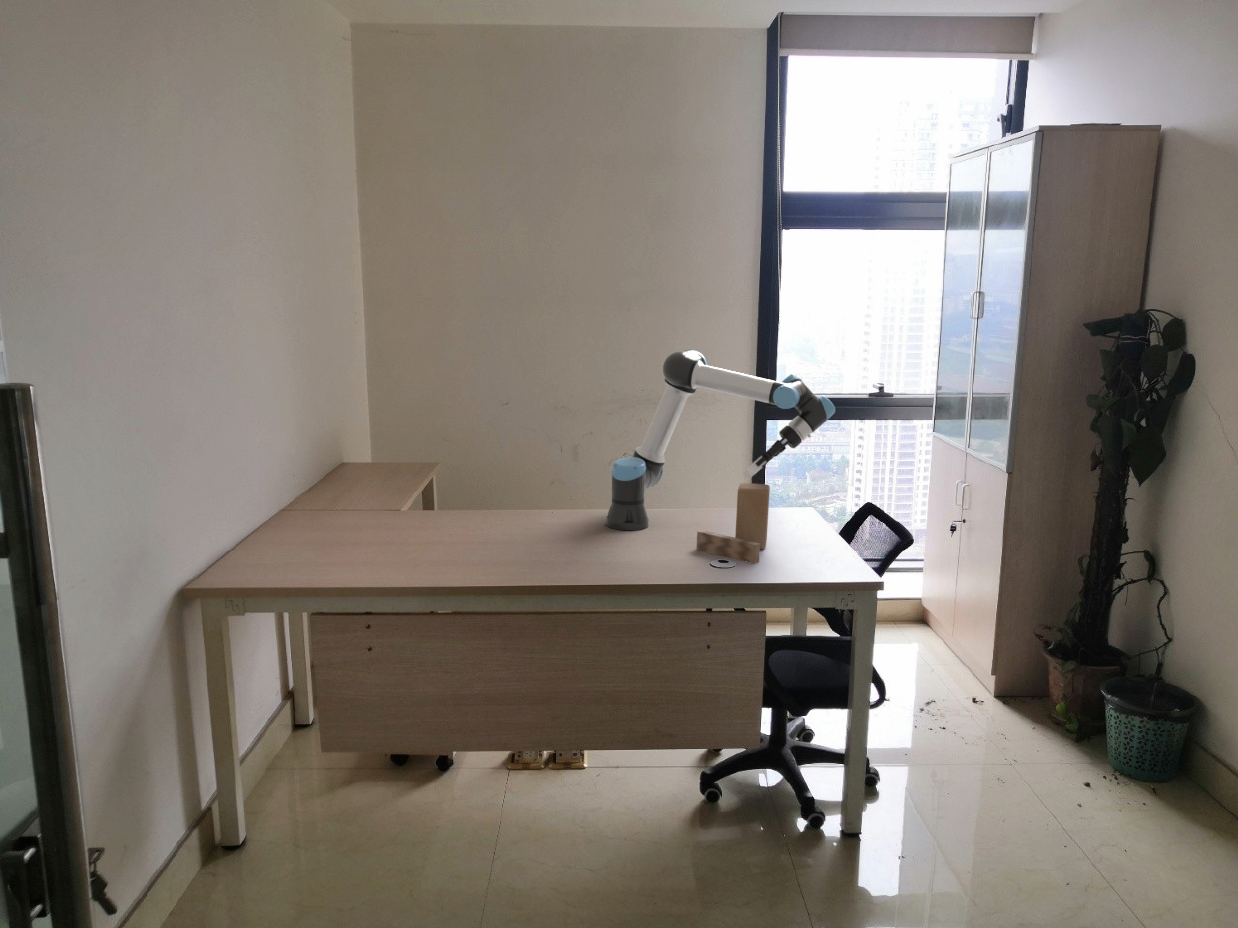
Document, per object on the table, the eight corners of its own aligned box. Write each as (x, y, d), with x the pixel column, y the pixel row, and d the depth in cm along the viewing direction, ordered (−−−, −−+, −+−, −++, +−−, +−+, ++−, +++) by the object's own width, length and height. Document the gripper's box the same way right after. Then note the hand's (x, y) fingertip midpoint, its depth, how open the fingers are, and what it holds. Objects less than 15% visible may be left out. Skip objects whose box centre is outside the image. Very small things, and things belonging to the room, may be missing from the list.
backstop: (696, 549, 290) (697, 531, 289) (700, 547, 292) (701, 529, 291) (754, 563, 277) (755, 545, 275) (759, 562, 278) (760, 543, 277)
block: (765, 550, 291) (768, 490, 287) (734, 547, 293) (737, 488, 289) (766, 542, 301) (770, 484, 297) (736, 539, 303) (739, 482, 299)
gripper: (808, 435, 285) (758, 478, 284) (797, 447, 309) (751, 487, 309) (792, 417, 286) (742, 461, 285) (782, 431, 310) (736, 470, 310)
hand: (746, 474), depth 297 cm, fingers open, 13 cm apart
